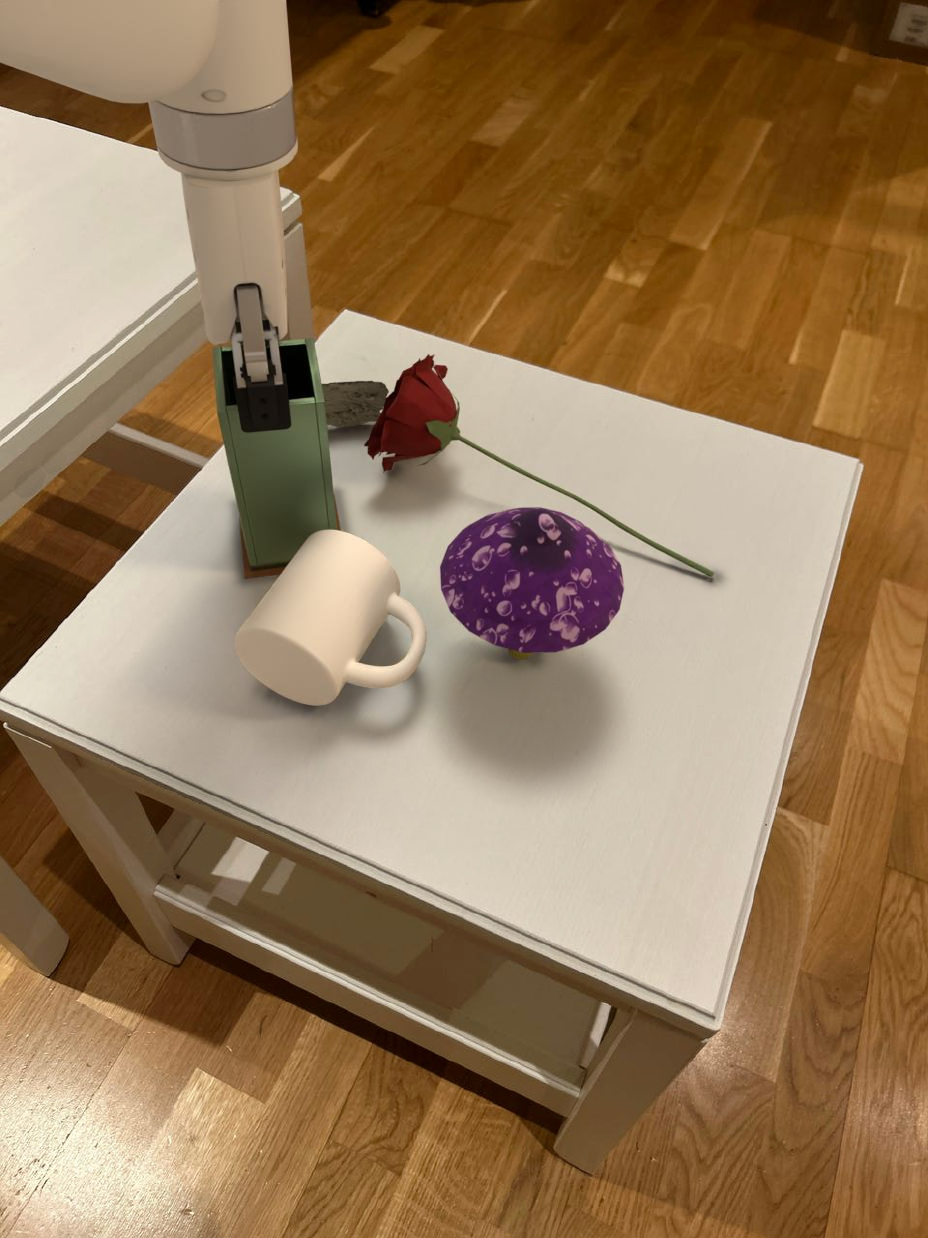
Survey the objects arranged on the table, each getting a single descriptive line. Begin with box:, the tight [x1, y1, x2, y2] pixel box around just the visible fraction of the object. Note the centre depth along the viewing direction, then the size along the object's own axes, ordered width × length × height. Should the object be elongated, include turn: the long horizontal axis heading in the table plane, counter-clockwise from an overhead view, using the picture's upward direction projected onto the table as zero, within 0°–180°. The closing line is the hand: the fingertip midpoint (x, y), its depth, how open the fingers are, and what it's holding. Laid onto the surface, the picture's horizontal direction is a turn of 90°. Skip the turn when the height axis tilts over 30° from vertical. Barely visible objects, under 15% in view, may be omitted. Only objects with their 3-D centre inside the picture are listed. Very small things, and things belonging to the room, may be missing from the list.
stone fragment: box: [322, 380, 390, 428], centre depth 82 cm, size 10×1×5 cm, turn 102°
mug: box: [234, 530, 427, 707], centre depth 66 cm, size 12×10×8 cm
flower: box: [363, 353, 715, 578], centre depth 77 cm, size 11×10×30 cm
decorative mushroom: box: [439, 506, 625, 660], centre depth 64 cm, size 12×12×15 cm
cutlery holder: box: [212, 337, 337, 571], centre depth 70 cm, size 7×7×16 cm
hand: (261, 381), depth 63 cm, fingers open, 9 cm apart
